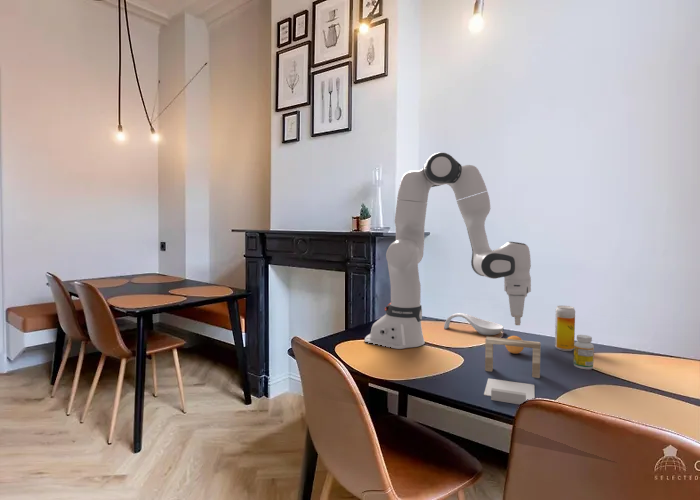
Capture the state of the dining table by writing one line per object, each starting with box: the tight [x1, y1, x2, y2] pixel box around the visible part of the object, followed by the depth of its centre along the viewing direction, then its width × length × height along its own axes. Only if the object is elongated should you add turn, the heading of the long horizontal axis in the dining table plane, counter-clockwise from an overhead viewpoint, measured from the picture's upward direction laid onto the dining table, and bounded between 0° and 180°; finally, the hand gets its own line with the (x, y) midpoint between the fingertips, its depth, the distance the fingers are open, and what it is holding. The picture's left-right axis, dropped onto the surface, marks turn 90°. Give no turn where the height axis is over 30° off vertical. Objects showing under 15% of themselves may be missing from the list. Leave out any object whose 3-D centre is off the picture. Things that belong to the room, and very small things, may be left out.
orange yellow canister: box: [554, 305, 576, 352], centre depth 143 cm, size 6×6×15 cm
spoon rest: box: [443, 312, 504, 336], centre depth 168 cm, size 24×12×7 cm, turn 60°
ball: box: [504, 335, 525, 355], centre depth 139 cm, size 6×6×6 cm
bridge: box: [484, 336, 542, 379], centre depth 121 cm, size 3×15×10 cm, turn 66°
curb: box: [490, 388, 526, 405], centre depth 101 cm, size 8×2×2 cm, turn 66°
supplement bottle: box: [573, 334, 595, 370], centre depth 125 cm, size 5×5×10 cm
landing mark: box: [483, 377, 536, 400], centre depth 108 cm, size 12×12×1 cm
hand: (517, 324), depth 147 cm, fingers closed
